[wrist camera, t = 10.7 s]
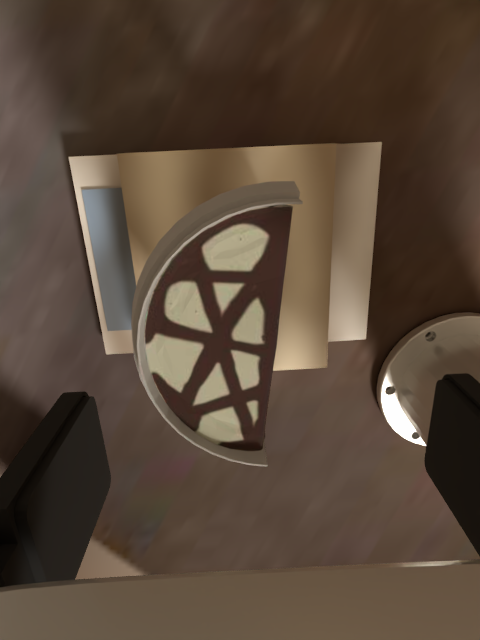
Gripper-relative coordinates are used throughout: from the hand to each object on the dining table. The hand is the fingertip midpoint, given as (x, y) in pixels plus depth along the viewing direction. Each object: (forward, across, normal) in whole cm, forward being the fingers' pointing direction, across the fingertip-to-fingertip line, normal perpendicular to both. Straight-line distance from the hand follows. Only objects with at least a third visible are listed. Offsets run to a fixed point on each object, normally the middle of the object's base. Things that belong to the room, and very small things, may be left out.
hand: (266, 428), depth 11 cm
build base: (+20, +1, -1) cm, 20 cm away
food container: (+15, +2, 0) cm, 15 cm away
